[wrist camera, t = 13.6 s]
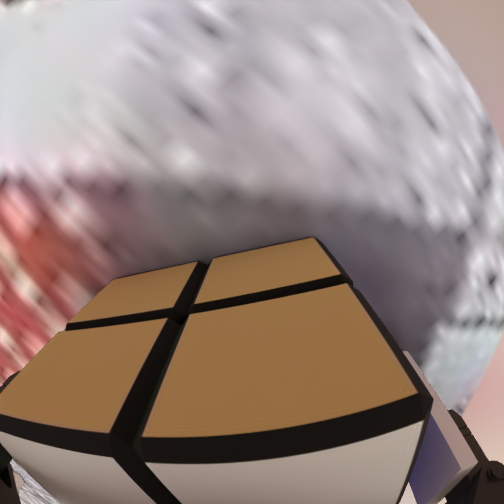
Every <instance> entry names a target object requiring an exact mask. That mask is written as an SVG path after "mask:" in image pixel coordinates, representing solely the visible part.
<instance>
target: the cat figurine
mask: <svg viewBox="0 0 504 504" xmlns="http://www.w3.org/2000/svg"><path fill="white" fill-rule="evenodd" d="M13 474H14V479H15V483H16V487H17V491H18V495H19V490H20V486H21V485H22V484H23V483H24V481H23V479H22V477H21V476H20V475H19V474H17V473H16V472H14V471H13Z"/></svg>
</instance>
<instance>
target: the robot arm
mask: <svg viewBox="0 0 504 504" xmlns="http://www.w3.org/2000/svg"><path fill="white" fill-rule="evenodd" d="M64 331H65V330H64ZM403 353H404V354H405V356H406V357H407V359H408V360H409V362H410V363H411V365H412V366H413V368H414V369H415V371H416V372H417V374H418V375H419V377H420V378H421V380H422V382H423V383H424V385H425V386H426V388H427V389H428V391H429V392H430V394H431V396H432V397H433V399H434V401H433V405H432V409H431V413H430V417H429V421H428V424H427V428H426V431H425V435H424V438H423V441H422V445H421V448H420V451H419V454H418V457H417V460H416V462H415V465H414V468H413V471H412V473H411V476H410V479H409V483H410V486H411V489H412V491H413V494H414V497H415V499H416V502H417V504H437V503H438V502H440V501H441V500H442V498H444V497H445V498H446V500H447V502H446V503H445V504H504V465H503V464H502V463H500V462H498V461H489V460H488V459H487V457H486V456H485V454H484V452H483V451H482V449H481V447H480V446H479V444H478V443H477V441H476V439H475V438H474V436H473V435H471V431H470V430H469V428H467V425H466V423H465V422H464V420H463V419H462V417H461V416H460V415H458V414H457V413H456V412H455V411H454V410H447V409H446V408H445V406H444V405H443V403H442V402H441V400H440V398H439V397H438V395H437V394H436V392H435V391H434V389H433V388H432V386H431V385H430V383H429V382H428V380H427V379H426V377H425V376H424V374H423V373H422V371H421V370H420V368H419V367H418V366H417V364H416V363H415V361H414V360H413V358H412V357H411V355H410V354H409V353H408V351H403ZM19 372H20V371H18V372H16V373H15V374H13V375H11V376H10V377H9V378H8V379H7V380H6V381H5V382H4V383H3V386H1V387H0V393H1V392H2V391H3V390H4V389H5V388H6V387H7V385H8V384H9V383H10V382H11V381H12V380H13V379H14V378H15V377H16V376H17V374H18V373H19ZM12 458H13V457H12V456H11V455H10V453H9V452H8V451H7V450H6V449H5V448H4V447H3V445H2V444H1V443H0V504H21V502H20V499H19V495H18V491H17V487H16V483H15V479H14V474H13V469H12V467H11V464H10V461H11V460H12ZM13 460H14V461H15V462H16V464H17V465H18V466H19V467H20V468H22V469H23V467H22V466H21V465H20V464H19V463H18V462H17V461H16V460H15V459H14V458H13ZM23 470H24V469H23Z"/></svg>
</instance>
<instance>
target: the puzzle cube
mask: <svg viewBox="0 0 504 504" xmlns="http://www.w3.org/2000/svg"><path fill="white" fill-rule="evenodd" d="M433 401H434V399H433V397H432V396H431V394H430V392H429V391H428V389H427V388H426V386H425V385H424V383H423V382H422V380H421V378H420V377H419V375H418V374H417V372H416V371H415V369H414V368H413V366H412V365H411V363H410V362H409V360H408V359H407V357H406V356H405V354H404V353H403V351H402V350H401V349H400V347H399V346H398V344H397V343H396V341H395V340H394V338H393V337H392V336H391V334H390V333H389V331H388V330H387V328H386V327H385V326H384V324H383V323H382V321H381V320H380V319H379V317H378V316H377V314H376V313H375V312H374V310H373V309H372V307H371V306H370V305H369V303H368V302H367V301H366V299H365V298H364V297H363V295H362V294H361V292H360V291H359V290H357V289H356V288H354V287H353V281H352V280H351V278H350V277H349V276H348V275H347V273H346V272H345V271H344V269H343V268H342V267H341V266H340V264H339V263H338V262H337V261H336V259H335V258H334V257H333V256H332V254H331V253H330V252H329V251H328V249H327V248H326V247H325V246H324V244H323V243H322V242H320V241H319V240H317V239H316V238H314V237H311V238H307V239H302V240H297V241H293V242H288V243H283V244H278V245H274V246H269V247H264V248H260V249H255V250H250V251H245V252H241V253H236V254H231V255H227V256H222V257H217V258H213V259H212V260H211V262H210V264H209V265H208V267H207V266H205V265H203V264H202V263H200V262H193V263H188V264H184V265H179V266H174V267H170V268H165V269H160V270H156V271H151V272H146V273H142V274H137V275H132V276H128V277H123V278H118V279H114V280H112V281H111V282H110V283H109V284H108V285H107V286H106V287H105V288H104V289H103V290H101V291H100V292H99V293H98V294H97V295H96V296H95V297H94V298H93V299H92V300H91V301H90V302H89V303H88V304H87V305H86V306H84V307H83V308H82V309H81V310H80V311H79V312H78V313H77V314H76V315H75V316H74V317H73V318H72V319H71V320H70V321H69V322H68V323H67V325H66V329H65V331H62V332H58V333H57V334H56V335H55V336H54V337H53V338H52V339H51V340H50V341H49V342H48V343H47V344H46V345H45V346H44V347H43V348H42V349H41V350H40V351H39V352H38V353H37V354H36V355H35V356H34V358H33V359H32V360H31V361H30V362H29V363H28V364H27V365H26V366H25V367H24V368H23V369H22V370H21V371H20V372H19V373H18V374H17V376H16V377H15V378H14V379H13V380H12V381H11V382H10V383H9V384H8V385H7V387H6V388H5V389H4V390H3V391H2V392H1V393H0V443H1V444H2V445H3V447H4V448H5V449H6V450H7V451H8V452H9V453H10V455H11V456H12V457H13V458H14V459H15V460H16V461H17V462H18V463H19V464H20V465H21V466H22V467H23V469H24V470H25V471H26V472H27V473H28V474H29V475H30V476H31V477H32V478H33V479H35V480H36V481H37V482H38V483H39V484H40V485H41V486H42V487H43V488H44V489H45V490H46V491H47V492H49V493H50V494H51V495H52V496H53V497H54V498H55V499H57V500H58V501H59V502H60V503H61V504H399V502H400V500H401V498H402V496H403V493H404V491H405V488H406V486H407V484H408V481H409V479H410V476H411V473H412V471H413V468H414V465H415V462H416V460H417V457H418V454H419V451H420V448H421V445H422V441H423V438H424V435H425V431H426V428H427V424H428V421H429V417H430V413H431V409H432V405H433Z"/></svg>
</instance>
